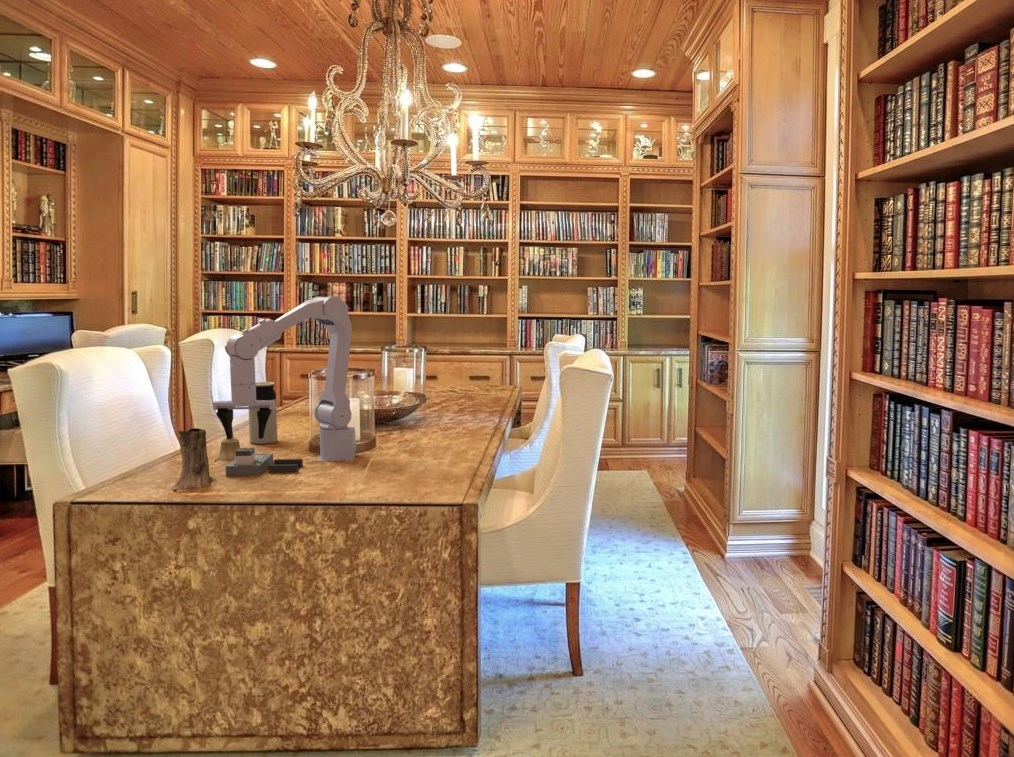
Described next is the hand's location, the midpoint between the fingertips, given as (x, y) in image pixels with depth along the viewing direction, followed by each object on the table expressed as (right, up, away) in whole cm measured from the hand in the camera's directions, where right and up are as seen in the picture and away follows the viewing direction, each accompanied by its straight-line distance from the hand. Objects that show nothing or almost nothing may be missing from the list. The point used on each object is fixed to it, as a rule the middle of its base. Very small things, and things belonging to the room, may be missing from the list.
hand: (245, 438), depth 179 cm
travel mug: (-9, -5, +41) cm, 42 cm away
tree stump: (-8, -11, -10) cm, 17 cm away
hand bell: (-10, -7, +18) cm, 22 cm away
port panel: (0, -9, +5) cm, 10 cm away
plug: (0, -9, +1) cm, 9 cm away
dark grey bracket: (+9, -9, +4) cm, 13 cm away
